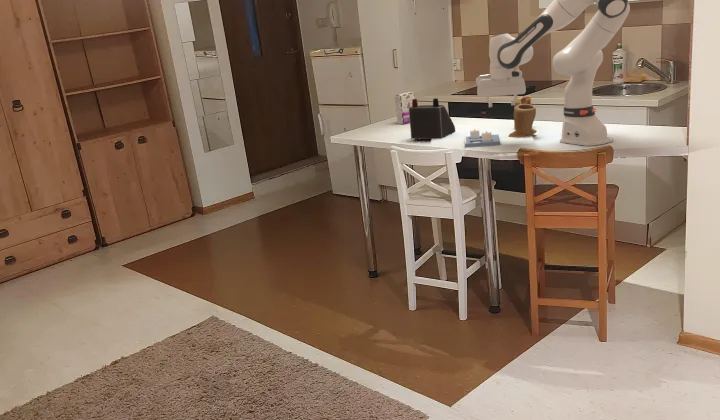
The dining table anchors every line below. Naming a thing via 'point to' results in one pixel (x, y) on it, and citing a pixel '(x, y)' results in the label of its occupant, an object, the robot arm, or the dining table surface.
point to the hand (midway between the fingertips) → (501, 106)
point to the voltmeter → (429, 121)
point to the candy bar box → (403, 107)
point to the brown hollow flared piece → (524, 120)
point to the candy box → (522, 102)
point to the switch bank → (479, 142)
